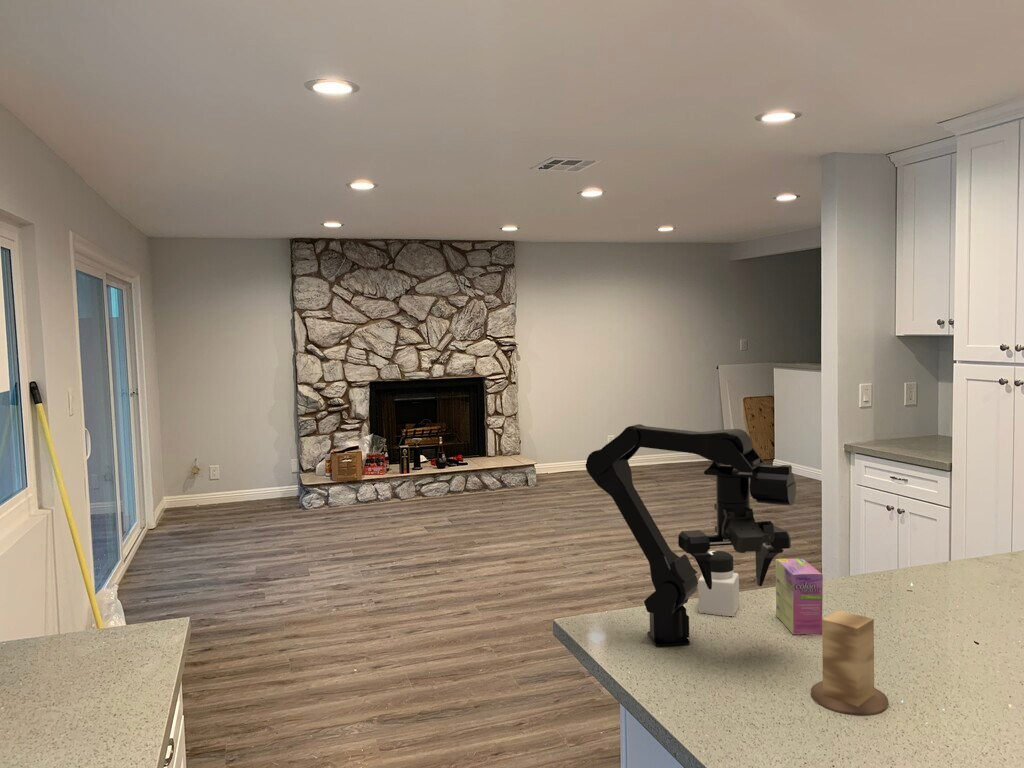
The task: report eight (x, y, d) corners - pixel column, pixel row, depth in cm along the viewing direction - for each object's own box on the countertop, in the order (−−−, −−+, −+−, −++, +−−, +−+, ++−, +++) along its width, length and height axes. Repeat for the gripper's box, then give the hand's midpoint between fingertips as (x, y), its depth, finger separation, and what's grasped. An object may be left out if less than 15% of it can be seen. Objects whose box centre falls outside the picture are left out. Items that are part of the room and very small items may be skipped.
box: (823, 634, 145) (823, 573, 144) (793, 635, 145) (792, 574, 144) (804, 615, 155) (803, 557, 155) (775, 616, 155) (774, 558, 155)
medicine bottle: (739, 606, 162) (738, 550, 161) (734, 617, 155) (732, 559, 155) (705, 602, 165) (704, 547, 164) (698, 613, 158) (697, 556, 158)
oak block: (823, 695, 120) (822, 619, 119) (839, 684, 123) (838, 610, 123) (858, 706, 115) (857, 628, 115) (874, 694, 119) (873, 618, 118)
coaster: (832, 717, 113) (832, 714, 113) (798, 685, 124) (798, 682, 124) (903, 712, 114) (903, 709, 114) (863, 680, 125) (863, 677, 125)
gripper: (696, 513, 128) (698, 605, 128) (804, 507, 129) (806, 598, 130) (676, 499, 139) (678, 585, 139) (776, 494, 140) (777, 578, 141)
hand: (734, 587), depth 137 cm, fingers open, 9 cm apart
